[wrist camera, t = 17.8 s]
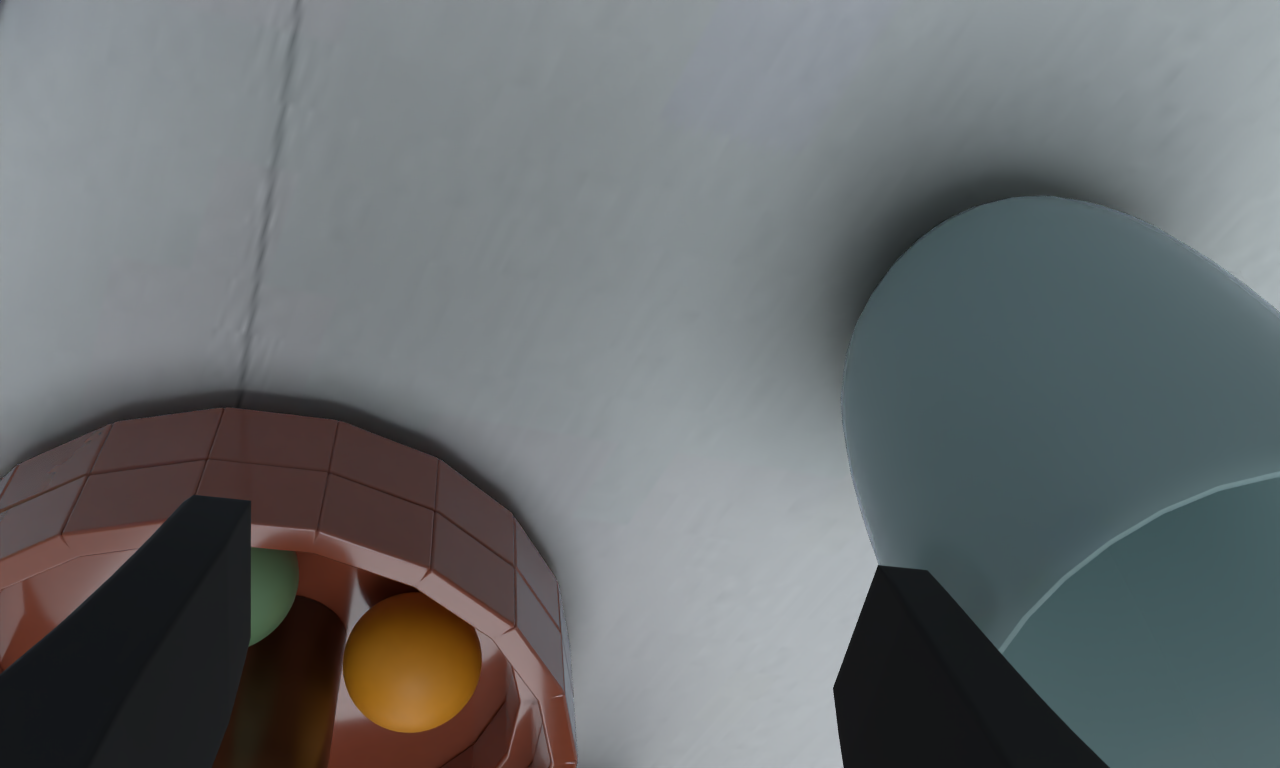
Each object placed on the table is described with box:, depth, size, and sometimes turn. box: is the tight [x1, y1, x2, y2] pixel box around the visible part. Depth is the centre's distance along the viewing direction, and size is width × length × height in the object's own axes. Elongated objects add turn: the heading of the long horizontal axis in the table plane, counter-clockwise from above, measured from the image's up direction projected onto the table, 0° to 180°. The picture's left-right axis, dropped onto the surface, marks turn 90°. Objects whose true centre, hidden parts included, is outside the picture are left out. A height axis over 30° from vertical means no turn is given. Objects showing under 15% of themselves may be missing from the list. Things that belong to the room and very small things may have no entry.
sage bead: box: [249, 547, 299, 646], centre depth 24 cm, size 3×3×3 cm
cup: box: [841, 196, 1280, 768], centre depth 20 cm, size 8×8×10 cm
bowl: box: [0, 407, 578, 768], centre depth 26 cm, size 14×14×4 cm
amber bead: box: [343, 592, 482, 733], centre depth 25 cm, size 3×3×3 cm
